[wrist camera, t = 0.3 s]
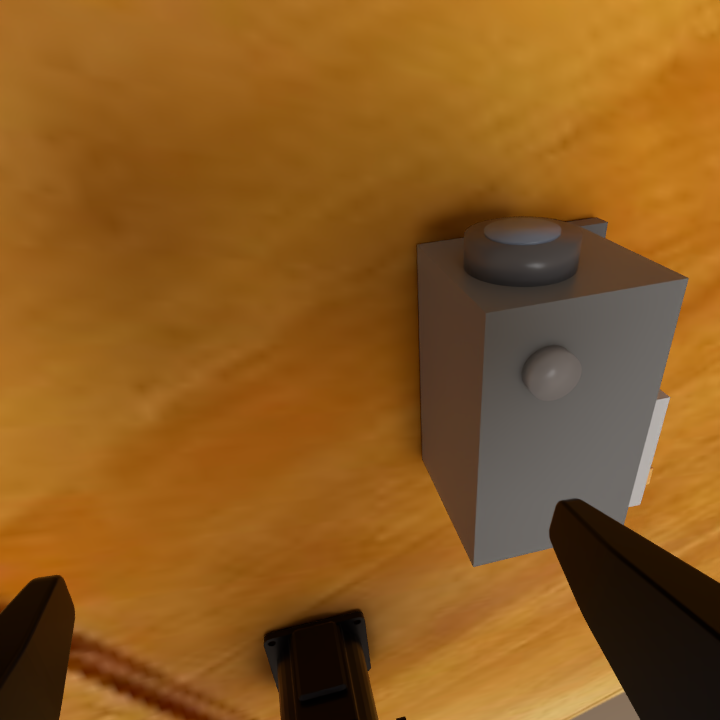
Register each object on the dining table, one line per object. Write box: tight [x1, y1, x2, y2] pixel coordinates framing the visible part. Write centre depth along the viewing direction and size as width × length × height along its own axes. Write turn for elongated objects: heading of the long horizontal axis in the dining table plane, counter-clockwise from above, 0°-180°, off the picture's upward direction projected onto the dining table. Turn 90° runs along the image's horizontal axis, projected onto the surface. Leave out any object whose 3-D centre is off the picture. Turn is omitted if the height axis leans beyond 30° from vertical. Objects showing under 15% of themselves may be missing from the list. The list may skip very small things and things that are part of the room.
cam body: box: [417, 217, 688, 567], centre depth 22 cm, size 13×8×8 cm, turn 4°
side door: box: [628, 389, 670, 507], centre depth 24 cm, size 6×2×5 cm, turn 4°
